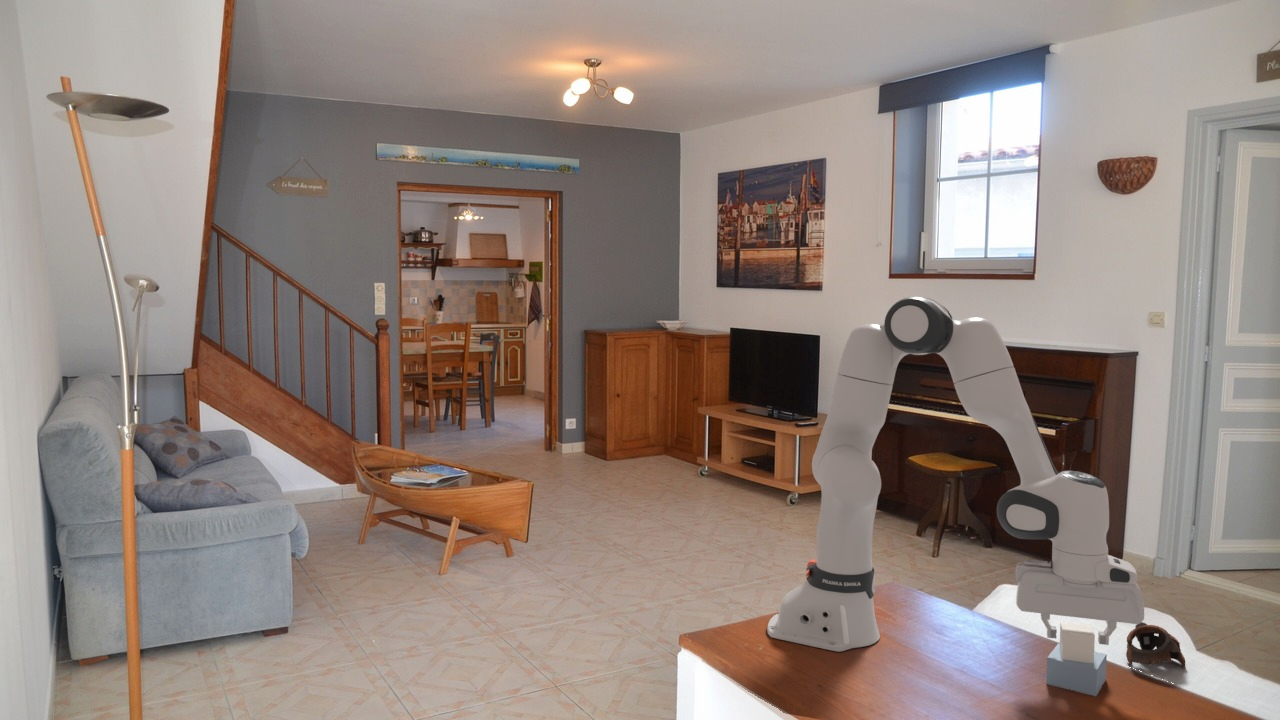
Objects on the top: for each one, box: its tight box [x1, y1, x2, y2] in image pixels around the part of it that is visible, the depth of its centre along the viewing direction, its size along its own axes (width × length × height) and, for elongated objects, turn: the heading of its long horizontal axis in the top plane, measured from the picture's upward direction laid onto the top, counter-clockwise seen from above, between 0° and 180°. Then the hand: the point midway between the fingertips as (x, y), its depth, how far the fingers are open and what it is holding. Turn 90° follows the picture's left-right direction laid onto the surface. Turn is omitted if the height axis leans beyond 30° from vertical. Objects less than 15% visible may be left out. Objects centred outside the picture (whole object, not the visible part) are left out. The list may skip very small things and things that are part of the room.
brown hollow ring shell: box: [1125, 621, 1186, 669], centre depth 163 cm, size 12×10×8 cm
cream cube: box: [1059, 621, 1096, 663], centre depth 155 cm, size 5×5×5 cm
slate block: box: [1045, 642, 1108, 697], centre depth 155 cm, size 8×8×5 cm
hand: (1077, 640), depth 155 cm, fingers open, 7 cm apart
